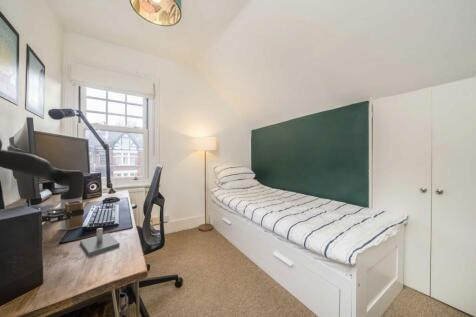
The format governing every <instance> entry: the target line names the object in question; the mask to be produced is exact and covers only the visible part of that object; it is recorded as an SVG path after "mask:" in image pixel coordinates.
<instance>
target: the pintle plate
mask: <svg viewBox="0 0 476 317" xmlns="http://www.w3.org/2000/svg"><path fill="white" fill-rule="evenodd" d="M103 231H104V228H103V227H100V228H96V235H95V236H92V237H88V238H84V239H81V240H80V246H81V247H82V248H83V249H84V251H85V253H86V254H87V255H88V257H91V256H94V255H95V256H96V255H98V254H100V253H104V252H106V251H110V250H112V249H116V248H119V247H120V246H121V245H120V242H119V241H118V240H116V238H115V237H113V236H112V235H111V234H110V233H109V232H107V233H104V234H103Z"/></svg>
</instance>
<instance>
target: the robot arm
mask: <svg viewBox="0 0 476 317" xmlns="http://www.w3.org/2000/svg"><path fill="white" fill-rule="evenodd" d="M2 148H3V142H2V140H1V138H0V168H3V169H7V170H9V171H13V172H15V173H16V172H17V173H20V174H22V175H23V174H24V175H26V176H30V177H33V178H38V179H42V180H47V181H48V182H52V183H54V184H56V185H58V186H62V187H68V190H67V191H65V192H62V193H60V196H59V197H60V198H59V199H60V202H59V203H60V207H59V208H51V209H47V210H46V211H44V212H41V213H42V223H45V222H46V223H47V222H48V223H50V224H54V223H58V222H59V223H60V231H70V230H74V229H78V228H80V227H82V226H79V227H75V228H70V229H67V228H66V226H65V220H68V219H71V217H73V216H79V215H83V216H84V214H85V209H84V208H83V209H81V210H75V211H68V212H65V203H67V202H74V201H82V202H83V193H84V186H85V176H84V173H83V171H81V170H78V169H77V170H76V169H75V170H73V169H72V170H69V169H60V168H56V167H54V166H53V165H52V164H51V163H50V161H49V160H47V159H45V158H43V157H40V156H37V155H36V154H31V153H27V152H21V151H14V150H8V149H2ZM37 209H39V210H41V211H42V209H41V208H40V207H37ZM65 215H67V216H65Z"/></svg>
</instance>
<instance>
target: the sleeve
mask: <svg viewBox="0 0 476 317" xmlns="http://www.w3.org/2000/svg"><path fill="white" fill-rule="evenodd" d="M81 209H83V210H84V202H83V200H82V201H74V202H67V203H65V212H68V211H75V210H81ZM65 216H67V215H65ZM65 226H66V228H67V229H70V228H75V227H79V226H81V227H83V226H84V214H83V215H79V216H73V217H71V219H68V220H65ZM79 228H80V227H79ZM75 229H76V228H75Z"/></svg>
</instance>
